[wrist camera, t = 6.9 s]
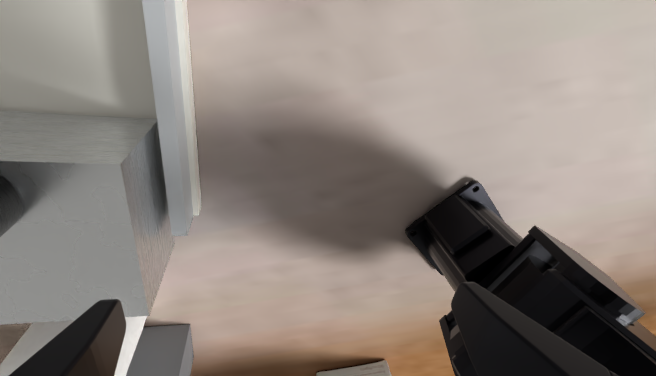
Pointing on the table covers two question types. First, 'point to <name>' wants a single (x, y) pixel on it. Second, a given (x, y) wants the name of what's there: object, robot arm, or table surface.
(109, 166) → the block
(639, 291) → the table surface
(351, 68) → the table surface
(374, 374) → the supplement box
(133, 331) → the white pouch
